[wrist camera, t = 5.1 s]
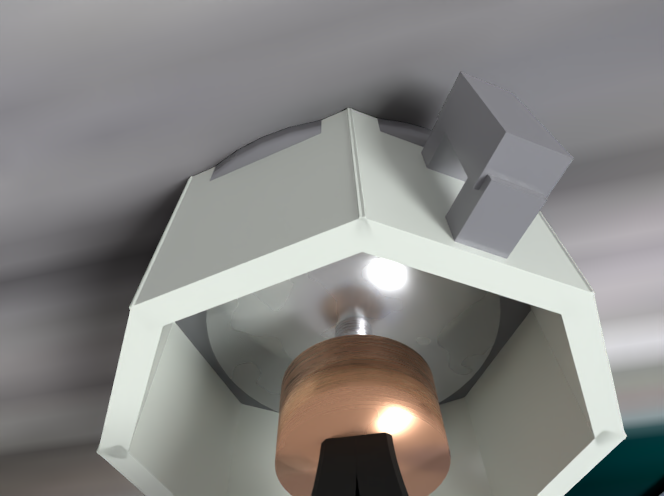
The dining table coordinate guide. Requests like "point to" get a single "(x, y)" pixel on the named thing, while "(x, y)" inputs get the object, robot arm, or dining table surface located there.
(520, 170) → the octagonal hollow frame
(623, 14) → the dining table surface
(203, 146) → the dining table surface
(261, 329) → the copper-knobbed silver dome
